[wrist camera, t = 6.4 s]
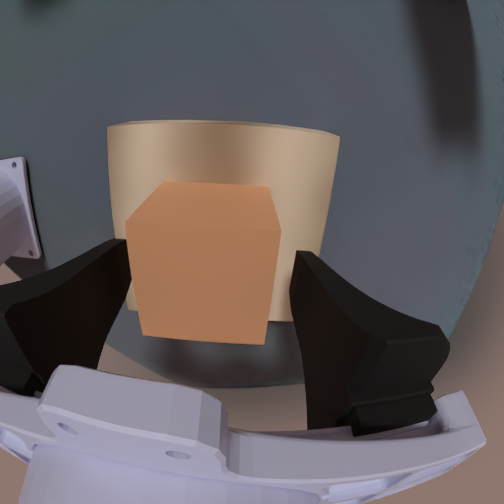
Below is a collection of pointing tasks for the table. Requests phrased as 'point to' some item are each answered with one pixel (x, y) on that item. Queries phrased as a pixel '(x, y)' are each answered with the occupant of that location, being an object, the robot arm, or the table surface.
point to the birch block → (230, 177)
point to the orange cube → (204, 261)
